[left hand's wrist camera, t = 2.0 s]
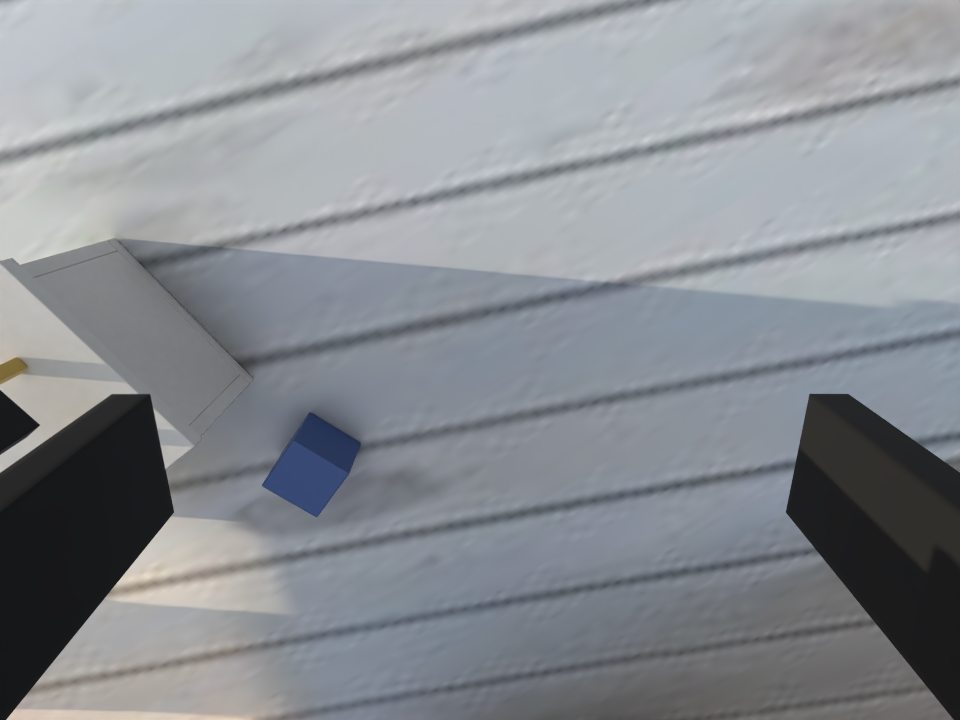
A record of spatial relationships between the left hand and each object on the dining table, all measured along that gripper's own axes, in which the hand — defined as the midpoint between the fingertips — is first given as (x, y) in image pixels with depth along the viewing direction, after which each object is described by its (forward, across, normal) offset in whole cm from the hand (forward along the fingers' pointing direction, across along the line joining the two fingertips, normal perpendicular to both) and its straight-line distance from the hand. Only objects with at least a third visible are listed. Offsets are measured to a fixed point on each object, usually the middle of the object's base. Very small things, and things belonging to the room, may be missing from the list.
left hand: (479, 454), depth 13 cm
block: (+28, +11, +15) cm, 34 cm away
